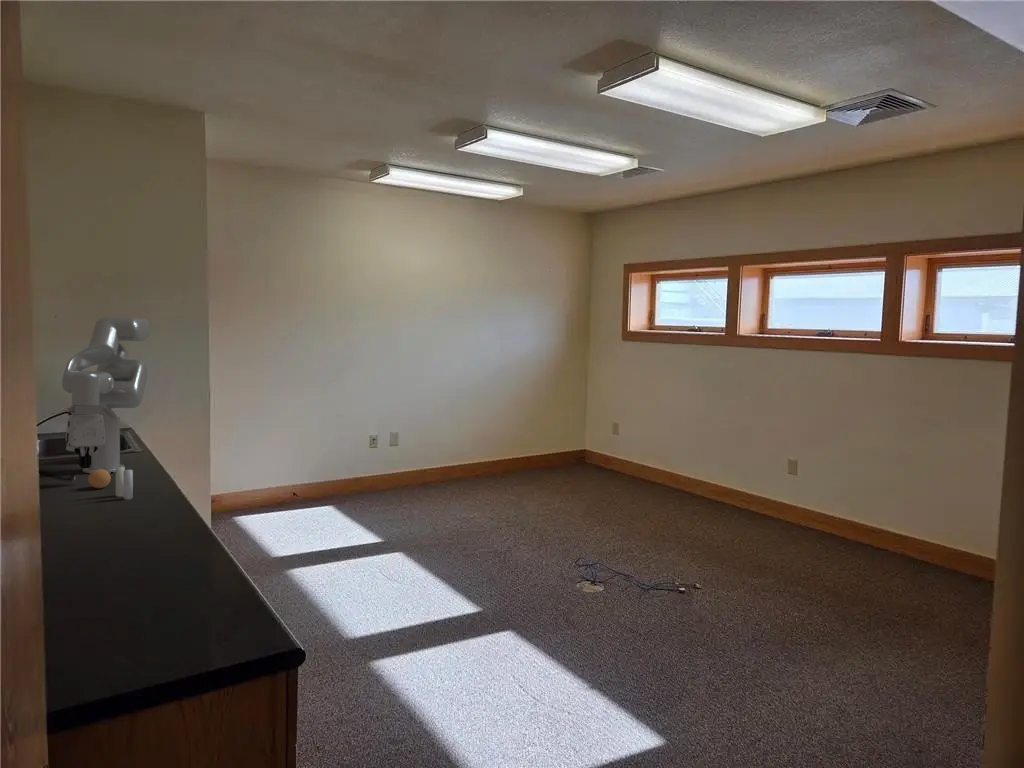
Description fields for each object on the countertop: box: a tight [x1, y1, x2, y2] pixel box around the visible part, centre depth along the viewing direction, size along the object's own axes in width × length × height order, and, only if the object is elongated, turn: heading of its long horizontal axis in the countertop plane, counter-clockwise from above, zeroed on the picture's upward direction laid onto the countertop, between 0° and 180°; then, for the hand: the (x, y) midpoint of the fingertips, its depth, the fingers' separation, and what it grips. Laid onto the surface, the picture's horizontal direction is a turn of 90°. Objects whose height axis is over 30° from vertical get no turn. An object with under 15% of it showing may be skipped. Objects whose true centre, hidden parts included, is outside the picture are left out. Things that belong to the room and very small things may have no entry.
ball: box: [87, 469, 112, 489], centre depth 209 cm, size 6×6×6 cm
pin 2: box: [123, 469, 134, 501], centre depth 198 cm, size 2×2×8 cm
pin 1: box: [115, 467, 126, 498], centre depth 201 cm, size 2×2×8 cm
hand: (85, 467), depth 213 cm, fingers closed
